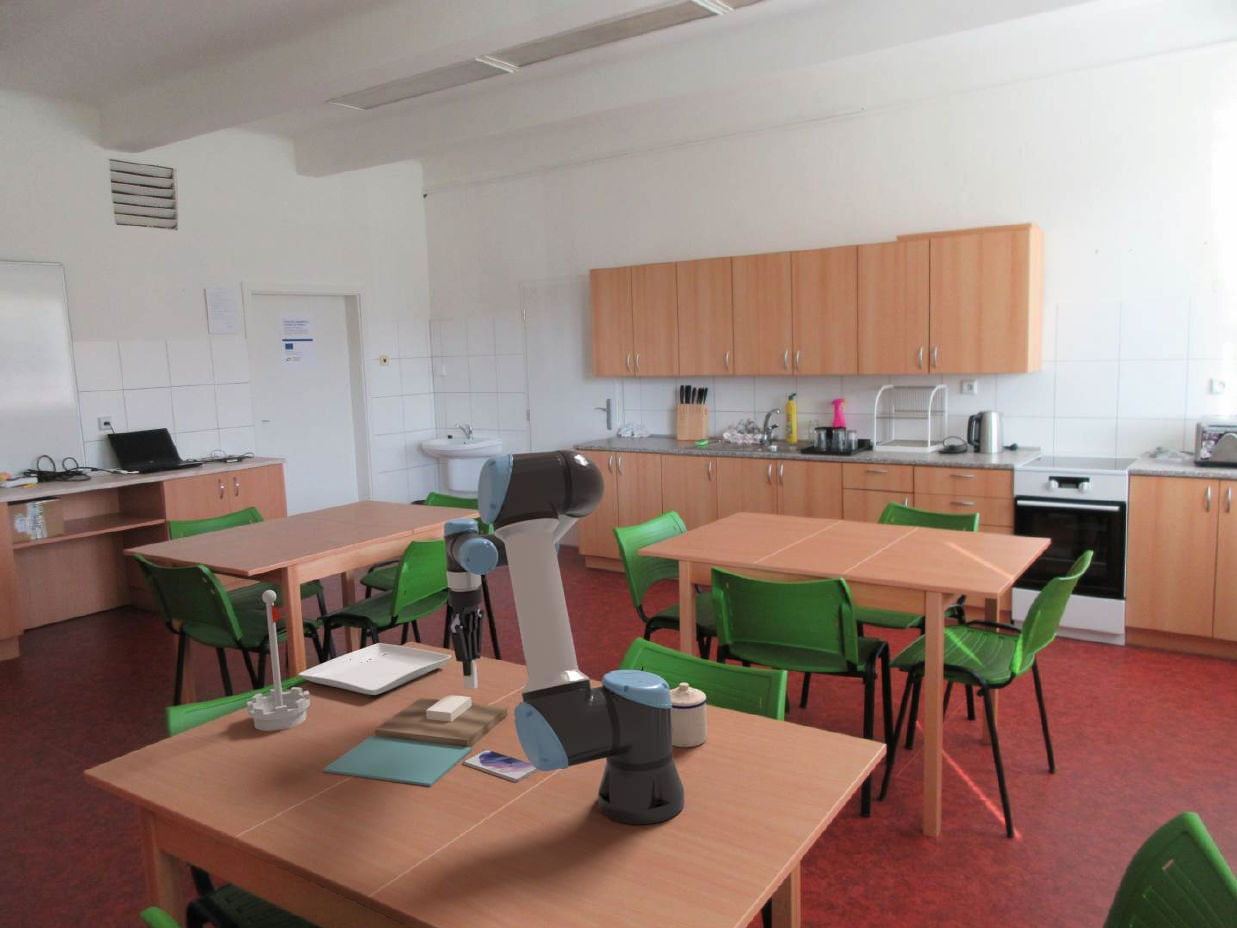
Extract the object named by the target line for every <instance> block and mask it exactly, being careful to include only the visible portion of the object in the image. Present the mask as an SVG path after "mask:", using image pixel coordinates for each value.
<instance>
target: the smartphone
mask: <svg viewBox="0 0 1237 928" xmlns="http://www.w3.org/2000/svg"><path fill="white" fill-rule="evenodd" d="M462 765H464V766H466V767H469V768H472V769H476V770H478V771H481V772H484V773H487V774H490V775H493V776H497V777H499V778H501V779H504V780H507V781H511V782H513V783H519V782H521V781H523V780H525V779H527V778H529V777H530V776H532V775H533V774H534V773H537V772H538V771H539V770H538V769H536V768H535V767H534V766H533V765H532V764H531V763H530V762H529V761H528V762H527V761H525V760H521V759H519V758H515V757H512V756H510V755H509V756H508V755H505V754H503V753H499V752H496V751H493V750H489V749H485V750H483V751H481V752H478V753H476V754H474V755H472V756H470V757H468V758H467V759H464V760H463V761H462Z"/></svg>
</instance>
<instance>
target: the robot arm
mask: <svg viewBox="0 0 1237 928" xmlns="http://www.w3.org/2000/svg"><path fill="white" fill-rule="evenodd" d="M604 494H605V480H604V477H603V474H602V472H601V470H600V468H599V466H598V465H597V464H596V463H595V462H594V461H593V460H592V459H591V458H589V457H588V456H586V455H585V454H583V453H580V452H578V451H574V450H569V449H562V450H561V449H559V450H554V451H541V452H540V451H539V452H526V453H508V454H507V455H500V456H494V457H490V458H489V459H487V460H486V461H485V462H484V463H483V464H482V467H481V469H480V472H479V477H478V484H477V509H478V515H479V516H480V520H481V522H482V523H483V524H485V525H492V529H493V533H486V534H479V532H480V531H479V527H478V522H477V520H476V519H474V518H471V517H463V518H462V517H461V518H454V519H449V520H447V521H446V522H445V523H444V524H443V540H444V553H445V563H446V566H445V567H446V574H445V575H446V578H447V587H448V588H449V589H448V590H447V597H448V605H449V606H450V607H452V608H453V610H454V611H453V622H452V623H449V624H448V625H447V628H448V631H449V633H450V636H451V642H452V646H453V650H454V655H455V660H456V662H460V663H461V664H462V671H463V672H462V674H463V676H462V677H463V688H464V689H470V690H476V689H477V688H478V687H479V682H478V672H477V671H478V668H477V659H478V660H479V659H481V653H482V643H483V641H482V640H483V623H484V616H485V610H484V609H480V608H479V605H481V604H482V602H483V591H482V587H481V585H482V576H481V575H485V574H488V573H491V571H493V570H494V569H499V568H506V567H508V569H509V575H510V582H511V587H512V591H513V599H514V605H515V609H516V615H517V622H518V626H519V632H520V638H521V639H520V640H521V644H522V649H523V655H524V661H525V666H526V674H527V678H528V680H527V683H526V684H525V686H524V687H523V689H522V690H521V696H522V701H521V702H519V703H518V704H516V706H515V708H514V711H513V713H514V718H515V719H514V725H515V729H516V730H515V731H516V734H517V737H518V740H519V743H520V746H521V749H522V750H523V753H524V754H525V757H526V759H527V760H528V762H529V763H531V764H532V765H533V766H534V767H535V768H536V769H538V771H541V772H551V771H555V770H566V769H568V768H570V767H574V766H579V765H581V764H585V763H586V764H587V763H589V762H594V761H599V760H602V759H605V760H606V763H605V767H604V770H603V774H602V777H601V779H600V784H599V786H598V787H599V788H598V791H597V793H598V794H597V804H598V809H599V811H600V812H601V813H602V814H603V815H604V816H605V817H607V818H608V819H611V820H612V821H616V822H619V823H623V824H629V825H651V824H656V823H661V822H663V821H667V820H670V819H671V818H673V817H676V815H678V814H679V813H681V811H682V810H683V808H684V807H685V789H684V784H683V783H682V780H681V777H680V774H679V772H678V769H677V767H676V764H675V761H674V758H673V757H674V756H673V753H674V752H673V745H672V717H671V707H672V703H671V697H670V690H671V689H670V686H669V683H668V682H667V681H666V680H665V679H664V678H663V677H661V676H659V675H658V674H655V673H652V672H649V671H643V670H637V669H617V670H612V671H608V672H607V673H605V674H604V675H603V677H602V680H601V685H602V686H598V687H593V688H592V686H591V681H590V677H589V676H587V675H586V674H585V673H583V672H582V671H580V669H579V666H578V662H577V661H578V660H577V656H576V650H575V644H574V640H573V634H572V629H571V623H570V617H569V613H568V607H567V603H566V597H565V593H564V586H563V582H562V576H561V570H560V564H559V559H558V554H559V551H560V539H561V538H563V536H564V535H565V534H567V532H568V531H569V530H570V529H571V527H573V525H575V523H576V522H577V521H578V520H579V519H583V518H586V517H588V516H590V515H591V514H592V513H593V512H594V511H595V510H596V509H597V508H598V507H599V505H600V504H601V502H602V500H603V498H604Z"/></svg>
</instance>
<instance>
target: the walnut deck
mask: <svg viewBox="0 0 1237 928" xmlns="http://www.w3.org/2000/svg"><path fill="white" fill-rule="evenodd" d="M440 700H441V699H436V698H426V697H419V698H418V699H416V700H415V701H414V702H413V703H410V705H408V706H406V707H405V708H404V709H401V711H399V712H397V714H395V715H393V716H392V717H391V718H389V719H388V720H386V721H385V722H382V723H381V724H380V725H379V726H377V727H376V728H375V729H374V736H378V737H387V738H395V739H403V740H412V741H420V742H428V743H437V744H445V745H454V746H462V747H470V748H472V747H473V746H474V745H475V744H476V743H478V742H479V741H480V740H481V739H482V738H483V737H484V736H486V735H487V734H488V733H489V732H490V731H491V730H492V729H493V728H494V727H496V726H498V724H499V723H501V722H502V721H503V720H504V719H505V718H506V717H508V715H509V714H508V706H505V705H495V704H485V703H475V702H474V703H473V702H471V703H472V706H471V707H470V708H468V709H467V710H466V711H464V712H463V713H462V714H461V715H459V716H458V717H457V718H455V719H454V720H453V721H452V722H449V721H440V720H431V719H427V716H426V710H427V709H428V708H430V707H431V706H433V705H434V704H435V703H437V702H438V701H440Z"/></svg>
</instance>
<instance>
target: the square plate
mask: <svg viewBox="0 0 1237 928" xmlns="http://www.w3.org/2000/svg"><path fill="white" fill-rule="evenodd" d="M384 654H386V655H384ZM383 655H384V656H383ZM451 658H452V655H451V654H447V653H446V654H445V653H440V652H436V651H431V650H428V649H427V650H426V649H421V648H414V647H409V646H405V645H404V646H403V645H402V646H401V645H396V644H390V643H389V644H388V643H382V642H377V643H375V644H372V645H369V646H366V647H363V648H361V649H358V650H355V651H352V652H349V653H346V654H343V655H340V656H338V657H335V658H333V659H330V660H326V661H325V662H323V663H319V664H318V665H315V666H312V667H310V668H308V669H306V670H303V671H302V672H299V673H298V676H301V677H302V678H303V679H304V680H307V681H309V682H311V683H316V684H319V685H325V686H329V687H333V688H339V689H343V690H346V691H347V690H348V691H352V692H355V693H360V694H365V695H369V696H370V695H371V696H377V695H379V694H384V693H386V692H389V691H392V690H394V689H395V688H397V687H400V686H403V685H404V684H406V683H408V682H411V681H412V680H416V679H417V678H420V677H422V676H424V675H426V674H428V673H429V672H432V671H434V670H436V669H439V668H441V667H442V666H445V665H446V664H447V662H448V661H449V660H450V659H451ZM350 659H351V660H350ZM369 659H371V660H369ZM367 661H368V662H367ZM361 662H362V663H361Z"/></svg>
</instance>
